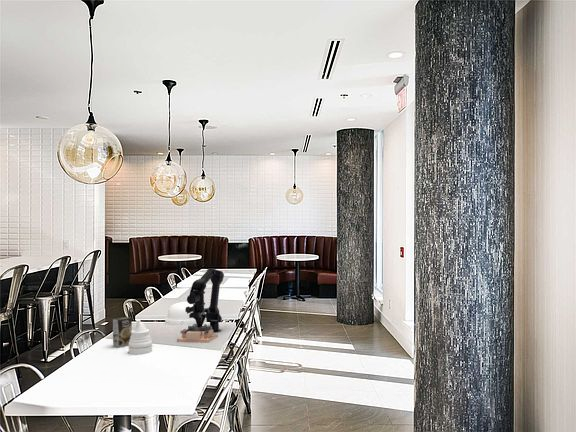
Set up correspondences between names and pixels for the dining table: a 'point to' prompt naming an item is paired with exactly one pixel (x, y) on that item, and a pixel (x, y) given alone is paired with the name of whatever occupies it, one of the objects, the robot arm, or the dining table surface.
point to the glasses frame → (194, 327)
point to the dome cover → (180, 315)
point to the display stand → (196, 336)
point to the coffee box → (122, 331)
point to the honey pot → (140, 340)
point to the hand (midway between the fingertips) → (200, 326)
